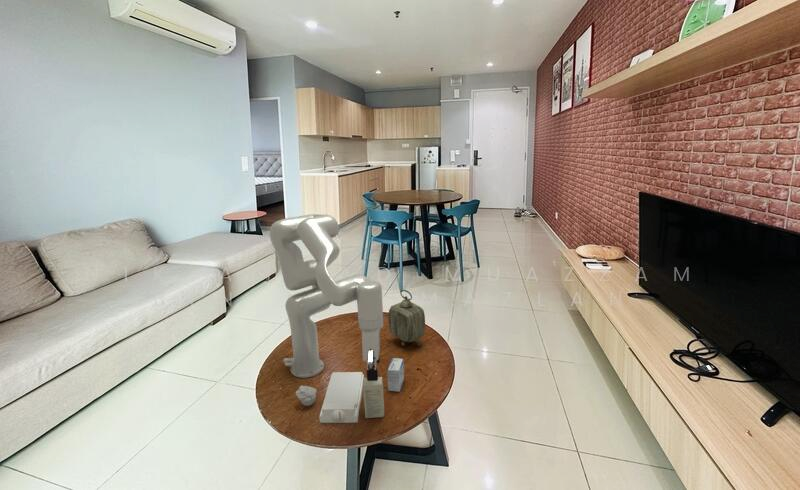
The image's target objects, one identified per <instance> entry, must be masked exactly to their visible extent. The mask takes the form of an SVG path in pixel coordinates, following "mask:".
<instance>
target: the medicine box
mask: <svg viewBox="0 0 800 490" xmlns="http://www.w3.org/2000/svg"><path fill="white" fill-rule="evenodd" d="M404 360H405V359H403V358H398V357H392V359H391V361H390V363H389V365H388V368H387V389H388V391H390V392H398V393H400V392H401V390H402V387H403V384H404V380H405V363H404V362H405V361H404Z"/></svg>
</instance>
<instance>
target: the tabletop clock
mask: <svg viewBox="0 0 800 490" xmlns="http://www.w3.org/2000/svg"><path fill="white" fill-rule="evenodd" d="M402 292H406V293H408V294H409V296H410V298H409V297H408V296H407V295H406V296H404V295H403V294H402ZM399 293H400V296H401V298H403V300H401V302H399V303H398V302H397V303H396V304H393V305H391V306H390V308H389V309H388V329H389V330H388V331H389V333H390V334H391V335H392V336H394V337H395V338H397V339H399V340H401V343H400V344H401V346H405V345H406V343H407V342H409V343H412V342H414V341H416V343H417V346H418V347H420V346H421V345H422V343H421V342H419V340H418V339H419V338H422V337H424V335H425V332H426V315H425V311H424V309H423V308H422V306H420V305H418V304H416V303H414V302H412V301H411V300H412V299H413V296H412V293H411V292H410V291H409V290H407V289H401V290H400V292H399ZM405 342H406V343H405Z"/></svg>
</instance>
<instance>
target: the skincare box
mask: <svg viewBox="0 0 800 490" xmlns="http://www.w3.org/2000/svg"><path fill="white" fill-rule="evenodd" d="M362 395H363V405H364V406H363V407H364V417H365V419H370V418H371V419H372V418H373V419H374V418H385V402H384V401H385V400H384V383H383V377H382V376H378V380H377V381H367V377H364V380H363V391H362Z"/></svg>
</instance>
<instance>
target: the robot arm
mask: <svg viewBox="0 0 800 490" xmlns="http://www.w3.org/2000/svg"><path fill="white" fill-rule="evenodd" d="M339 232H340V226H339V222H338V220H337V219H336V217H334V216H332V215H329V214H319V213H318V214H316V213H315V214H314V213H313V214H311V213H310V214H303V215H299V216H293V217H286V218H283V219H279V220H277V221H275V222H274V223H272V224H271V226H270V228H269V238H270V243H271V245H272V246H273V248H274V251H275V252H276V254H277V257H278V262H279V267H280V270H281V271H280V272H281V274H282V278H283V282H284V285H285V288H287V290H289V291H292V292H293V291H298V290H302V289H305V288H308V287H311V288H310V289H307V290H304V291H300V292H297V293H295V294H293V295H290V297H288V298H287V299H286V301H285V311H286V313H287V314H286V315H287V317H288V322H289V328H290V335H291V345H292V352H293V353H292V355H293V356H292V357H291V358H289V357H288V358H287V357H285V358H283V364H284V366H285V367H290V372H291V375H292V376H295V377H296V378H301V379H302V378H303V379H307V378H311V377H314V376H316V375H318V374H320V373H321V372H322V371H323V370H324V366H325V365H324V361H323V360H322V359H321V358H320V355H319V353H320V352H319V341H318V328H317V324H316V323H315V321H313V319H311V317H312V316H314V315H316V314H319V313H321V312H324V311H325V310H327V309H329V308H330V306H331V305H332V306H335V307H342V306H344V305H347V304H349V303H352V302H355V301H356V303H357V318H358V319H357V321H358V322H357V323H358V328H359V329H360V330H361V350H362V351H361V352H362V354H361V356H362V362H366V378H367V381H377V380H378V377H379V373H378V368H377V364H379V363H380V352H381V351H380V348H381V329H382V328H383V327H384V311H383V310H384V309H383V308H384V307H383V288H382V285H381V283H380V282H379V281H377V280H372V279H370V278H368V277H367V276H366V275H364V274H359V273H358V274H353V275H352V276H347V277H345V278H342V279H338V280H336V281H335V280H334V279H333V277H332V276H331V274H330V273H329V271H328V267H329V266H331V264H332V263H334V261H335V260H337V258H338V256H339V255H340V253H341V252H340V251H341V250H340V247H339V245H338V244H337V243H336V242H335V240H334V239H333V238H336V237H337V236H338V235H339ZM296 241H301V242H302V243H303V245H304V246H305V247H306V249H307V250H308V252H309V253H310V254H311V256H312V257H313V259H309V260H305V261H304V257H303V252H302V250H301V248H300V247H299V246H298V245H297V244H296V243H295V242H296Z"/></svg>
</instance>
